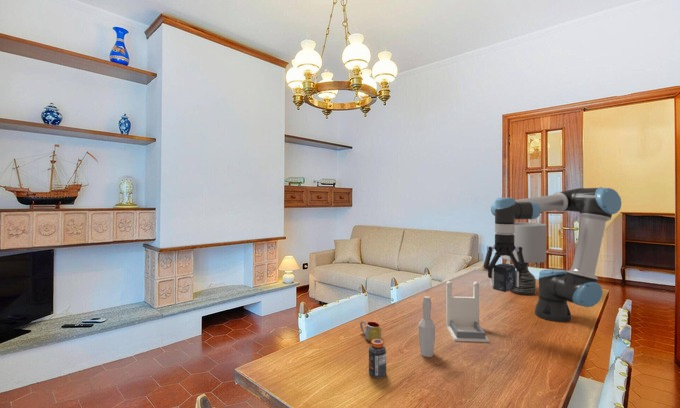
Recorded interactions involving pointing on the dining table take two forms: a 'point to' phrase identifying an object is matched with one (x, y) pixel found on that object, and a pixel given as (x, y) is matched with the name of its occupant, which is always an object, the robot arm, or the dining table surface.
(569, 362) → the dining table surface
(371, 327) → the mug
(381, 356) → the pill bottle
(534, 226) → the lamp
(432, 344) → the low poly bottle
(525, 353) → the dining table surface
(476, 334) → the white l-bracket
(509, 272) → the box
